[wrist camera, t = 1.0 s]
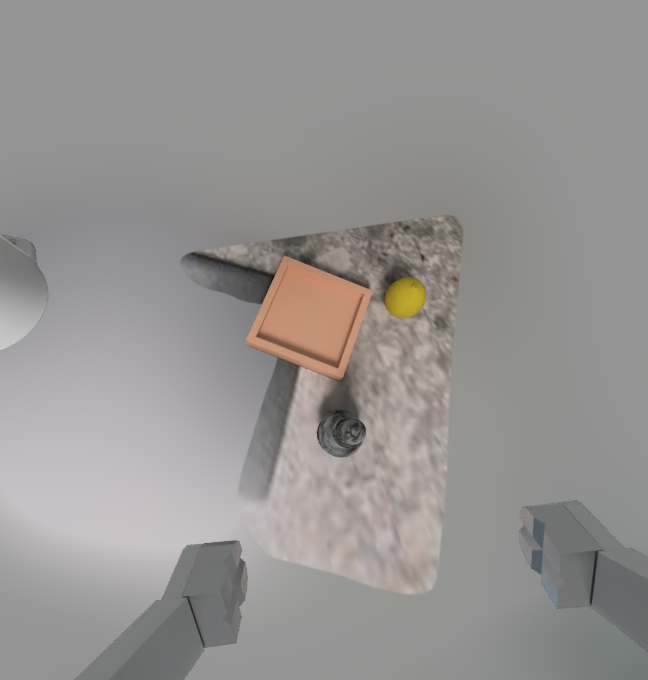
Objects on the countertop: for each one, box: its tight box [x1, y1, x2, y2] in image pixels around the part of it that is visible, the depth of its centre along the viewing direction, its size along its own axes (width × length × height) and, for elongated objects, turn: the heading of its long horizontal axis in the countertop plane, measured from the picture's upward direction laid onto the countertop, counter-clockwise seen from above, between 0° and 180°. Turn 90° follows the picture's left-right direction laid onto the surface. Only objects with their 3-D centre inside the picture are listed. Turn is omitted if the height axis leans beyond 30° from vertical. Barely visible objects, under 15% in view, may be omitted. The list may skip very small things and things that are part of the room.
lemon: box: [385, 277, 426, 318], centre depth 52 cm, size 6×6×8 cm
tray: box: [246, 255, 372, 381], centre depth 52 cm, size 14×14×2 cm
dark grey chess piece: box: [317, 410, 366, 457], centre depth 43 cm, size 6×6×12 cm
